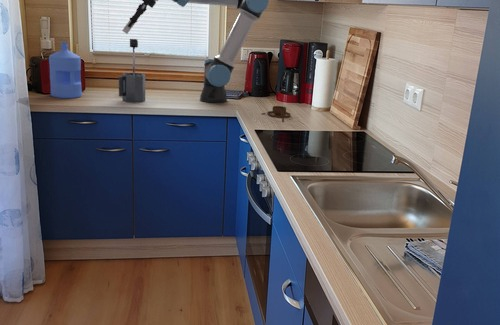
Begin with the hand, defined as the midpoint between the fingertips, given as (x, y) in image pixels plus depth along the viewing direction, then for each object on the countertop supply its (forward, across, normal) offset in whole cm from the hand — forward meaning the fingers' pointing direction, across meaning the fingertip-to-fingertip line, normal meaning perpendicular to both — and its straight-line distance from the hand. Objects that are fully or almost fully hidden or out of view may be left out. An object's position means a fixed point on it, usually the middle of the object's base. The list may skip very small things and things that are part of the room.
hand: (125, 31), depth 254 cm
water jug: (+47, -14, -4) cm, 49 cm away
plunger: (+17, -5, +17) cm, 25 cm away
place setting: (-13, +27, +82) cm, 87 cm away
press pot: (+27, -5, +23) cm, 36 cm away
